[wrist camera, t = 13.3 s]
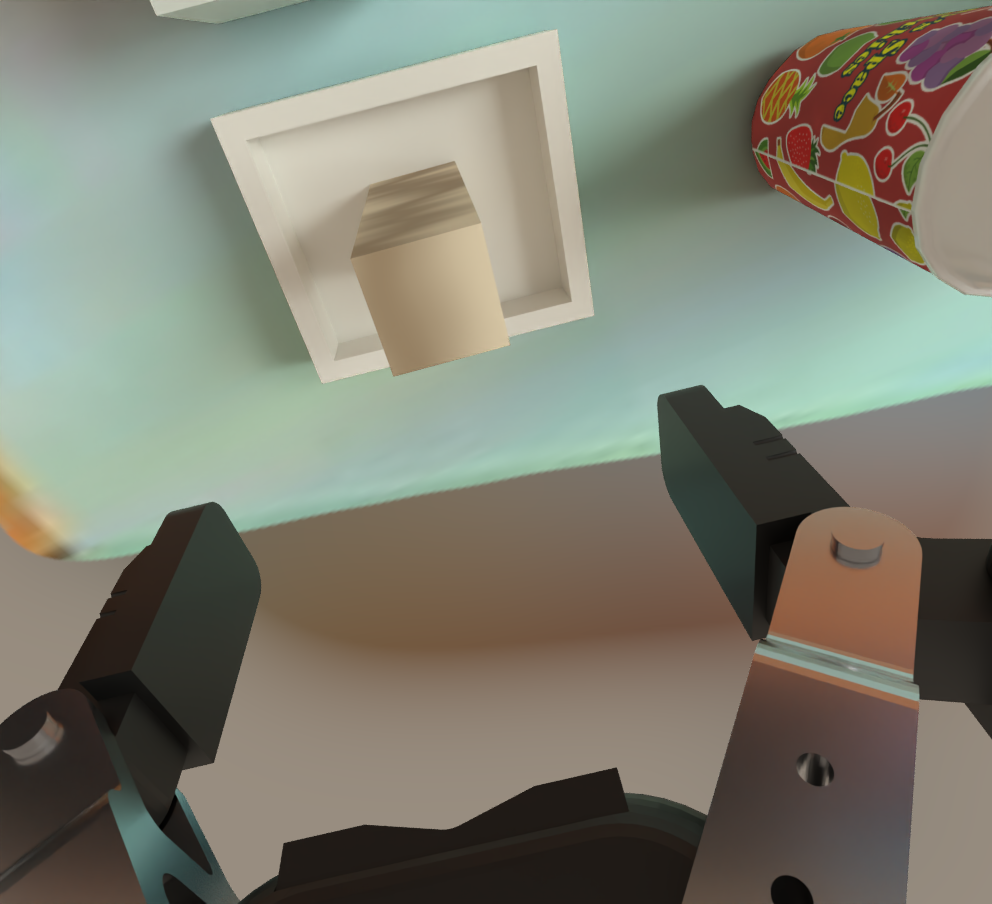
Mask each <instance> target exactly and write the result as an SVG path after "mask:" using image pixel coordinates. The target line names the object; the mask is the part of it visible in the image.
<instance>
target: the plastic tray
mask: <svg viewBox="0 0 992 904" xmlns="http://www.w3.org/2000/svg"><path fill="white" fill-rule="evenodd" d="M210 120H211V122H212V125H213V127H214V129H215V132H216V134H217V136H218V139H219V141H220V143H221V146H222V148H223V151H224V153H225V155H226V158H227V160H228V162H229V165H230V167H231V169H232V172H233V174H234V177H235V179H236V181H237V184H238V186H239V188H240V191H241V193H242V196H243V198H244V200H245V203H246V205H247V207H248V210H249V212H250V214H251V217H252V219H253V222H254V224H255V226H256V229H257V231H258V233H259V236H260V238H261V240H262V243H263V245H264V248H265V250H266V252H267V255H268V257H269V259H270V262H271V264H272V266H273V269H274V271H275V274H276V276H277V278H278V281H279V283H280V285H281V288H282V290H283V292H284V295H285V297H286V300H287V302H288V304H289V307H290V309H291V311H292V314H293V316H294V318H295V321H296V323H297V326H298V328H299V330H300V333H301V335H302V337H303V340H304V342H305V344H306V347H307V349H308V352H309V354H310V356H311V359H312V361H313V363H314V366H315V368H316V370H317V373H318V375H319V378H320V380H321V382H322V384H324V383H328V382H332V381H336V380H340V379H344V378H348V377H352V376H356V375H360V374H364V373H368V372H372V371H376V370H380V369H384V368H388V367H390V366H389V363H388V360H387V357H386V355H385V352H384V349H383V347H382V344H381V341H380V338H379V336H378V333H377V330H376V328H375V325H374V322H373V319H372V317H371V314H370V311H369V309H368V306H367V303H366V300H365V298H364V295H363V292H362V290H361V287H360V284H359V281H358V279H357V276H356V273H355V271H354V268H353V265H352V262H351V260H350V258H351V254H352V251H353V247H354V243H355V239H356V236H357V232H358V228H359V225H360V221H361V217H362V213H363V210H364V206H365V202H366V199H367V195H368V191H369V187H370V184H373V183H377V182H381V181H384V180H388V179H391V178H395V177H399V176H402V175H406V174H409V173H413V172H417V171H420V170H424V169H427V168H431V167H435V166H438V165H442V164H445V163H449V162H453V161H455V163H456V165H457V167H458V170H459V172H460V174H461V177H462V179H463V181H464V184H465V186H466V188H467V191H468V193H469V195H470V198H471V200H472V203H473V205H474V207H475V210H476V212H477V214H478V217H479V219H480V221H481V224H482V228H483V233H484V237H485V241H486V245H487V249H488V254H489V258H490V262H491V266H492V270H493V275H494V279H495V283H496V287H497V291H498V295H499V300H500V304H501V308H502V312H503V316H504V321H505V325H506V329H507V333H508V337H511V336H515V335H519V334H523V333H527V332H531V331H535V330H539V329H543V328H547V327H551V326H555V325H559V324H563V323H567V322H571V321H575V320H579V319H583V318H587V317H591V316H594V309H593V301H592V294H591V286H590V278H589V270H588V263H587V255H586V247H585V239H584V232H583V224H582V216H581V209H580V201H579V193H578V185H577V178H576V170H575V162H574V154H573V147H572V139H571V131H570V123H569V116H568V108H567V100H566V92H565V85H564V77H563V69H562V62H561V54H560V46H559V38H558V31H557V29H554V30H546V31H541V32H537V33H533V34H529V35H525V36H521V37H518V38H514V39H510V40H506V41H502V42H498V43H494V44H491V45H487V46H483V47H479V48H475V49H471V50H467V51H464V52H460V53H456V54H452V55H448V56H444V57H440V58H437V59H433V60H429V61H425V62H421V63H417V64H413V65H410V66H406V67H402V68H398V69H394V70H390V71H386V72H383V73H379V74H375V75H371V76H367V77H363V78H359V79H356V80H352V81H348V82H344V83H340V84H336V85H332V86H329V87H325V88H321V89H317V90H313V91H309V92H305V93H302V94H298V95H294V96H290V97H286V98H282V99H278V100H275V101H271V102H267V103H263V104H259V105H255V106H251V107H248V108H244V109H240V110H236V111H232V112H228V113H226V114H223V115H220V116H217V117H214V118H212V119H210Z"/></svg>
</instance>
